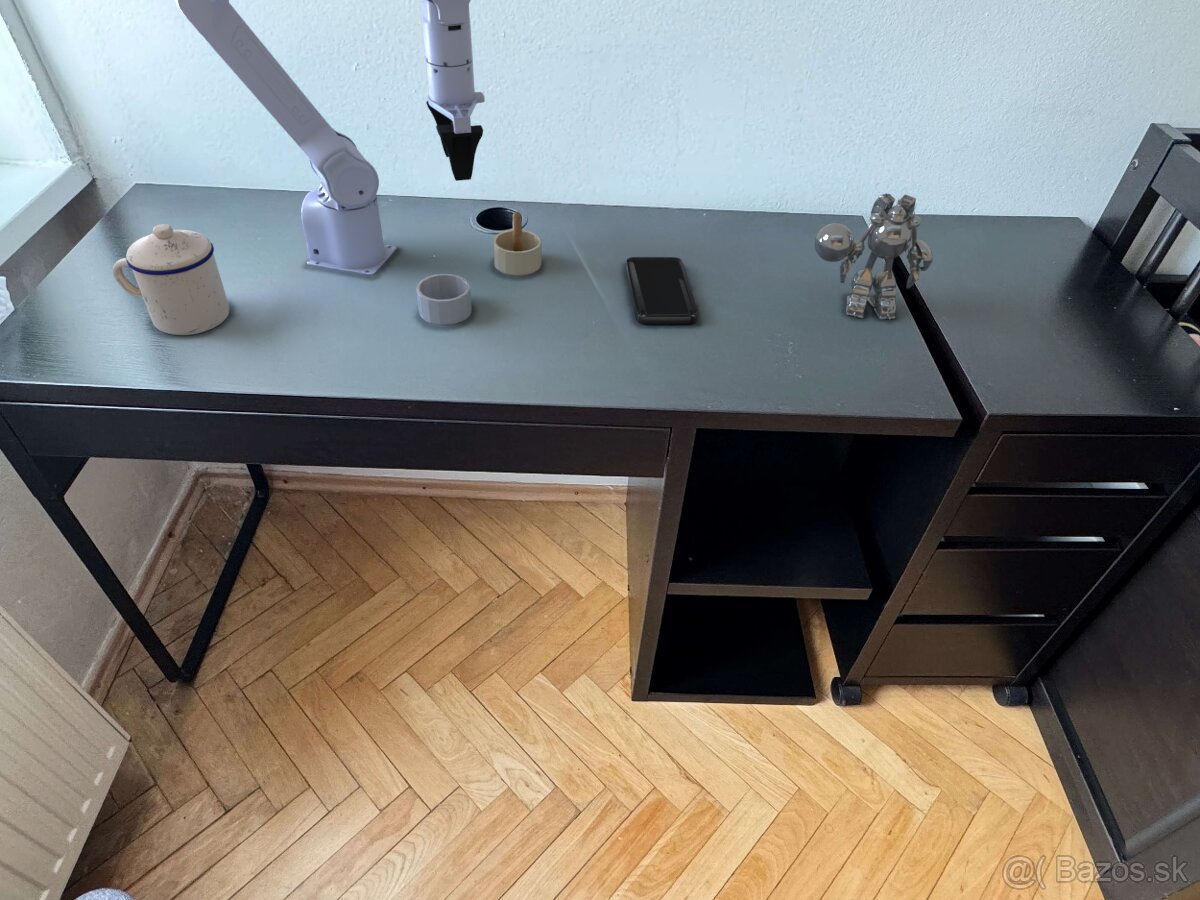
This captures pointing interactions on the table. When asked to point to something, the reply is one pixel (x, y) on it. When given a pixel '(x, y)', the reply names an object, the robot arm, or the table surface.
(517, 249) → the wooden wall peg
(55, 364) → the table surface
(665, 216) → the table surface
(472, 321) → the table surface
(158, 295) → the teacup with lid
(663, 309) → the phone
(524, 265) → the cream cup
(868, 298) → the robot toy
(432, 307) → the grey cup
